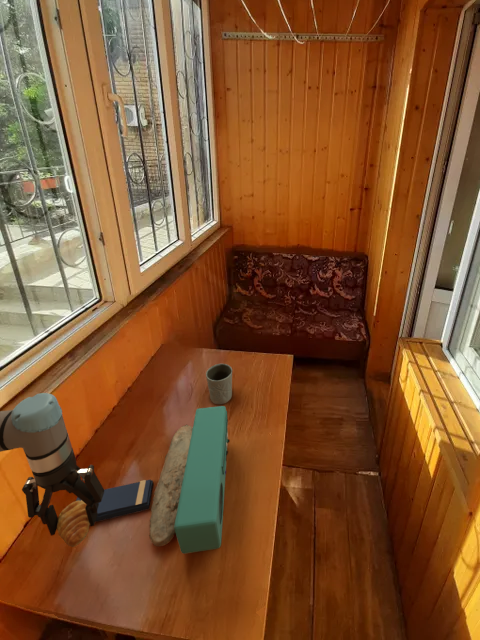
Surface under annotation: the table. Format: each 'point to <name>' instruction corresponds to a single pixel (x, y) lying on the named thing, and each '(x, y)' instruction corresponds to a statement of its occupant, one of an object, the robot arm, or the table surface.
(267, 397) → the table surface
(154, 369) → the table surface
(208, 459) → the teal bluetooth speaker
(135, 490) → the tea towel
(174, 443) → the long grey stone
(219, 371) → the grey stone cup
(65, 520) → the pastry
